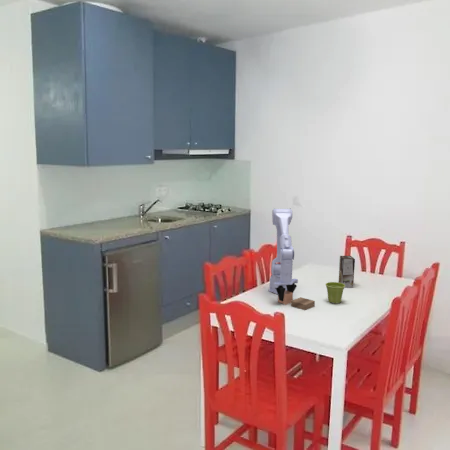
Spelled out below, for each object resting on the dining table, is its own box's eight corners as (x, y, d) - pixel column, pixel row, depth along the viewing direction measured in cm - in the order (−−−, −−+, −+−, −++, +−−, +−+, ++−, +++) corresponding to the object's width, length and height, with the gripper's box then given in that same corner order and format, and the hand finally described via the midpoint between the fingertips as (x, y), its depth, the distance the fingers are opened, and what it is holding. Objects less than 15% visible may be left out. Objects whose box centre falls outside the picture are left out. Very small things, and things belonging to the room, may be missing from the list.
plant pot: (330, 305, 221) (331, 288, 220) (321, 299, 230) (322, 282, 229) (347, 303, 224) (348, 286, 222) (338, 298, 233) (339, 281, 231)
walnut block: (291, 306, 219) (291, 300, 219) (300, 303, 225) (300, 297, 225) (305, 311, 214) (305, 304, 213) (314, 307, 220) (314, 301, 219)
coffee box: (353, 288, 250) (355, 259, 247) (341, 287, 250) (343, 258, 248) (349, 283, 259) (351, 255, 256) (338, 283, 259) (339, 255, 257)
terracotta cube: (277, 301, 225) (278, 291, 225) (285, 299, 228) (285, 290, 228) (285, 304, 221) (285, 294, 221) (292, 302, 224) (292, 292, 224)
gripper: (280, 276, 215) (280, 304, 217) (302, 272, 224) (301, 298, 226) (270, 273, 221) (270, 300, 223) (292, 269, 229) (291, 295, 231)
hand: (285, 299), depth 225 cm, fingers closed on terracotta cube, 5 cm apart
